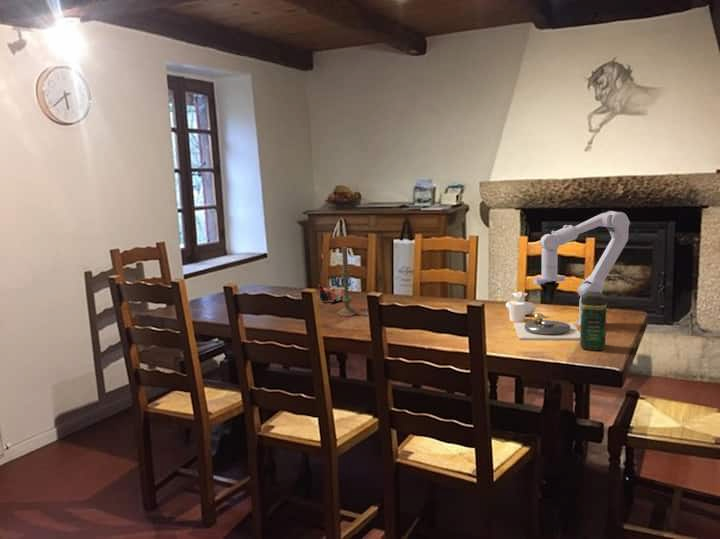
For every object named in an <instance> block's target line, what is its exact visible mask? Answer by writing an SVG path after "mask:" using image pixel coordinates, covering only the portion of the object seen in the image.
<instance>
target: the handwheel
mask: <svg viewBox="0 0 720 539" xmlns="http://www.w3.org/2000/svg"><path fill="white" fill-rule="evenodd" d="M533 314H534V315H533V316H534V321H533V320H532V321H529V322H525V323H526V324H525V330H527V331H529V332H533V333H539V334H561V333H566V332H569V331H570V325H569V324H567V323H568V322H563V321H558V320H557V321H556V320H550V319H545V320H544V315H543V313H540V312H539V313H533Z"/></svg>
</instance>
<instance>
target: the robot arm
mask: <svg viewBox="0 0 720 539" xmlns="http://www.w3.org/2000/svg"><path fill="white" fill-rule="evenodd" d="M627 215H628V214H626V213H625V212H622V211H614V210H608V211H606V212H603V213H602V212H601V213H600V214H597V215H596V216H595V215H594V216H593V217H591V218H589V219H587V220H585V221H583V222H581V223H579V224H577V225H575V226H574V225H572V224H569V225H568V224H565V225H563V226H562V228H560V229H558V230H556V231H555V230H552V231H551V233H547V234H544V235H543V236H542V237H540V241H539V245H540V247H541V277H538V278H534V279H533V280H532V283H533V285H536V286H540V288H541V289H542V292H543V294H544V298H545V299H544V300H545V302H548V303H553V300H554V296H555V293H556V291H557V290H558V288H559V286H560V283H559V282H566V275H561V274H560V275H558V258H559V256H558V249H559V248H560V247H562V246H563V245H566V244H568V243H570V242H573V241H575V240H577V238H578V237H579V235H580V234H582V233H585V232H588V231H590V230H594V229H595V228H598V227H605V228H606V229H607V230H608V232H609V234H610V237H611V239H610V241H609V242H608V244H607V246H606V248H605V249H604V251H603V253H602V255H601V256H600V258H599V260H598V261H597V264H596V266H595V267H594V268H593V270H592V271H591V273H590V275H589V276H588V277H586V278H585V279H584V281H583V282H582V283H580V284H579V285H578V287H577V295H578V296H579V297H580V298H579V301H578V302H579V304H578V306H579V308H578V320H576V321H575V322H576V323H577V324H578V326H579V327H581V297H582V295H583V294H585V293H587V292H588V291H593V292H601V293H602V294H603V291H604V289H605V280H606V279H607V277H608V276H609V273H610V272H611V270H612V268H613V267H614V265H615V263H616V261H617V259H618V258H619V256H620V255H621V253H622V252H623V249H624V248H625V246H626V244H627V242H628V241H629V229H630V228H629V226H630V225H631V221H630V219H629V218H628V216H627Z"/></svg>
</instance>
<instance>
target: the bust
mask: <svg viewBox="0 0 720 539" xmlns="http://www.w3.org/2000/svg"><path fill="white" fill-rule="evenodd" d="M512 295H513V296H514V300H515V301H514V300H512V301H510V300H509V301H508V302H506V303H505V308H506V309H507V311H508V313H509V304H508V303H510V302H524V303H526V311H525V316H527V315H533V314H535V310H536V304H535V303H534V302H531V301H525V300H526V298H525V297H527V296H528V293H524V292H523V291H520V290H519V291H517V292H512Z"/></svg>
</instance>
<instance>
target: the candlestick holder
mask: <svg viewBox="0 0 720 539" xmlns="http://www.w3.org/2000/svg"><path fill="white" fill-rule="evenodd" d="M341 253H342V254H341V255H342V256H341V258H342V271H341V272H340V273H341V275H342V276H341V278H342V280H343V290H344V289H345V290H344V291H345V292H344V297H343V299H342V304H344V307H343V309H340V310H339V311H337V313H338V314H341V315H350V314H354V313H356V312H357V311H356V310H355V309H353V308H351V307H350V304H351V301H352V300H351V298H350V297H349V281H348V280H349V279H350V274H351V273H350V272H351V271H349V268H348V266H349V264H348V263H349V262H348V260H349V259H348V247H346V246H345V245H344V246H343V247H341Z"/></svg>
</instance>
